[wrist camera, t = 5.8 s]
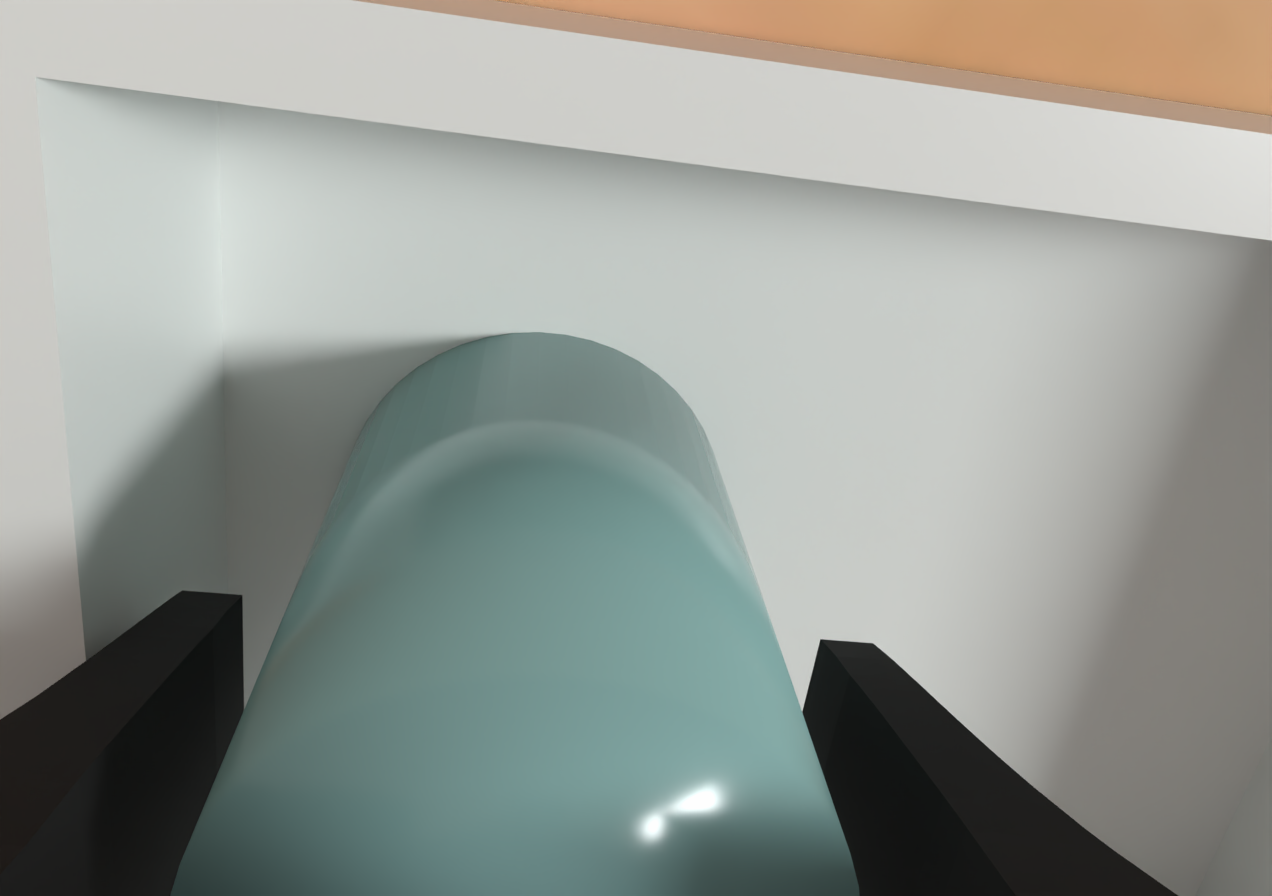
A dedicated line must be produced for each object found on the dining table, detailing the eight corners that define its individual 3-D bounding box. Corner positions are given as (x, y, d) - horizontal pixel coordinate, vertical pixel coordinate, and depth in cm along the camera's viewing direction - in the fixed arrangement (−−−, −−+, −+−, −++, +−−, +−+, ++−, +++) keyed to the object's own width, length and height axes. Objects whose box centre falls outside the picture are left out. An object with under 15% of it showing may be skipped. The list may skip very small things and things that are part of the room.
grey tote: (1195, 916, 19) (1397, 1210, 15) (193, 872, 17) (61, 1201, 12) (1562, 159, 14) (2066, 250, 9) (155, -51, 11) (-103, -67, 7)
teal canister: (652, 696, 15) (723, 1205, 9) (310, 620, 14) (120, 1130, 8) (775, 394, 14) (974, 764, 7) (393, 281, 13) (232, 597, 6)
